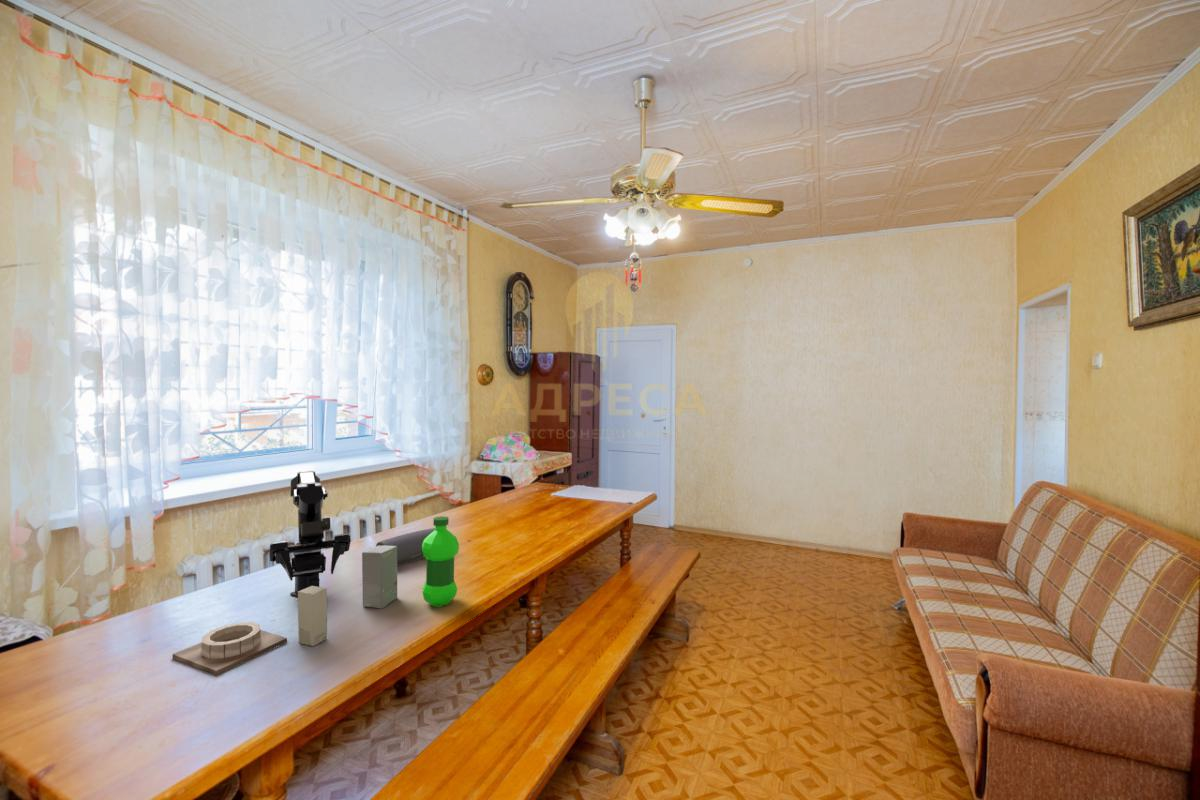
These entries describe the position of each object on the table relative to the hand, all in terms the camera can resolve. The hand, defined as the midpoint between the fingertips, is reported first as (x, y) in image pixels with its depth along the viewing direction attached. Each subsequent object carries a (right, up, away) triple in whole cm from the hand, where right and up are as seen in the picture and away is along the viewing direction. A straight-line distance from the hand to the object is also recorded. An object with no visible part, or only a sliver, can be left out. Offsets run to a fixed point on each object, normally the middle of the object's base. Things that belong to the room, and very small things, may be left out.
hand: (312, 576), depth 132 cm
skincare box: (+10, -13, +17) cm, 24 cm away
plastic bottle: (+28, -14, +17) cm, 35 cm away
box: (+4, -14, -7) cm, 16 cm away
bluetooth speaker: (+6, -13, +52) cm, 54 cm away
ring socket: (-13, -13, -12) cm, 22 cm away
